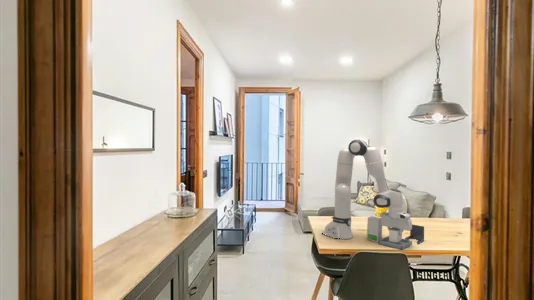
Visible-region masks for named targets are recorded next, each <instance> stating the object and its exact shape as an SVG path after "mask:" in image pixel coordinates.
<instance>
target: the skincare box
mask: <svg viewBox="0 0 534 300" xmlns="http://www.w3.org/2000/svg"><path fill="white" fill-rule="evenodd" d="M380 219H381V217H376V216H372V215H371V216H369V217H367V225H366V226H367V227H366V240H367V241H372V242H376V243H378V242H379V240H381V239H383V226H382V225H381V224H380Z"/></svg>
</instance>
